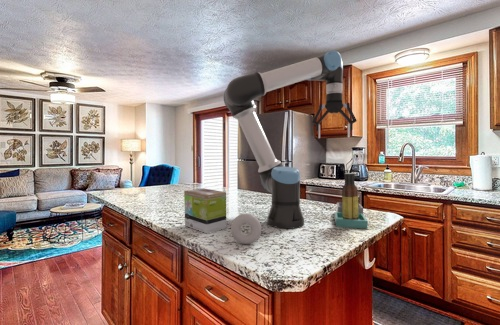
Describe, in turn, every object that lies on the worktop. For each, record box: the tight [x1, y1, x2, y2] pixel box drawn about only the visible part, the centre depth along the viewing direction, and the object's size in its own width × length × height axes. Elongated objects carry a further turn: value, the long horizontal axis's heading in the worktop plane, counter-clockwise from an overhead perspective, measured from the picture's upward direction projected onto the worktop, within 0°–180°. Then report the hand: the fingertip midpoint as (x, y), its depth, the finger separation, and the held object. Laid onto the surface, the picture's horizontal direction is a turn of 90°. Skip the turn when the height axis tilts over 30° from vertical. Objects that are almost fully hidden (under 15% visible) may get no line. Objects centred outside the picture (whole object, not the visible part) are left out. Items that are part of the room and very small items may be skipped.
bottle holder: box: [336, 202, 364, 215], centre depth 123 cm, size 11×11×5 cm
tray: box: [334, 211, 369, 230], centre depth 110 cm, size 12×13×3 cm
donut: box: [230, 213, 263, 245], centre depth 85 cm, size 10×4×10 cm, turn 85°
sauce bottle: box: [341, 172, 359, 220], centre depth 109 cm, size 6×6×20 cm
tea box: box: [183, 187, 227, 234], centre depth 104 cm, size 15×10×15 cm, turn 47°
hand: (333, 137), depth 127 cm, fingers open, 13 cm apart
